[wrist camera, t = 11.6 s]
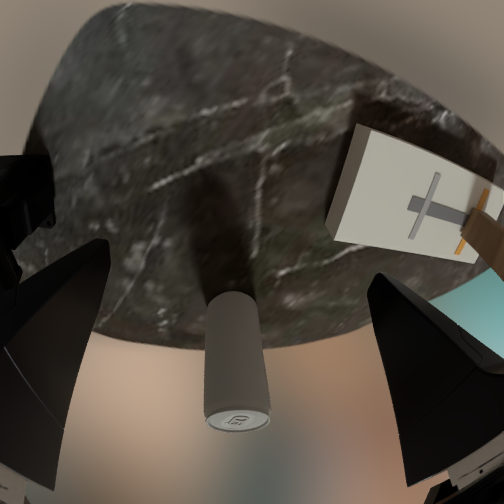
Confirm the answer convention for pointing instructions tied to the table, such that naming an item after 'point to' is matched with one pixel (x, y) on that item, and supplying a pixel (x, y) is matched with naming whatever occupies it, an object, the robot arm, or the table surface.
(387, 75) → the table surface
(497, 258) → the lever
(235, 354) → the beverage can
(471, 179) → the fader console
